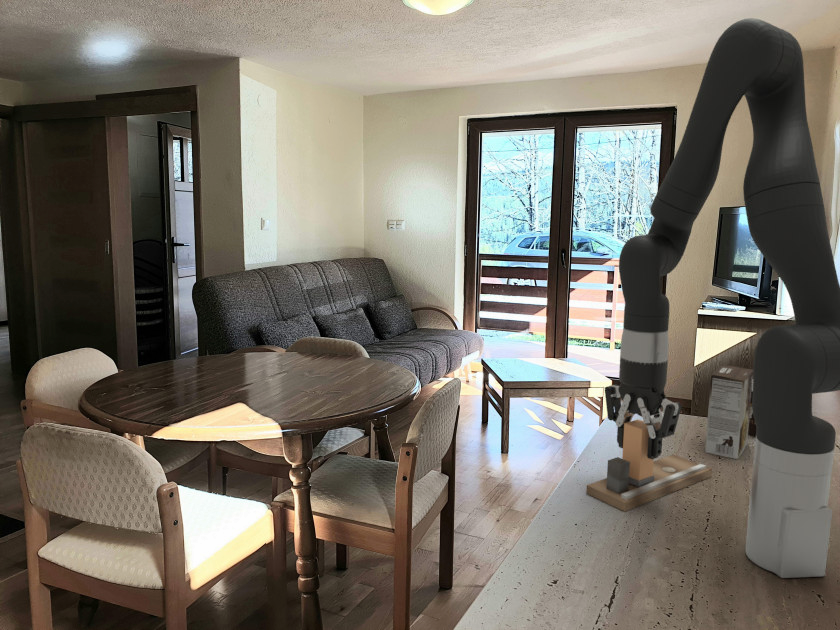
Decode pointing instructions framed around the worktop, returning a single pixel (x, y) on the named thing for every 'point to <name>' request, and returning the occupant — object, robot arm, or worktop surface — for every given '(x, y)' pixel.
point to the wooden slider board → (667, 479)
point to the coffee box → (729, 411)
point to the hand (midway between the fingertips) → (638, 451)
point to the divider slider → (637, 453)
